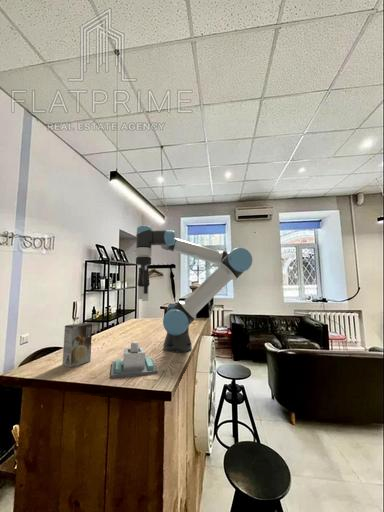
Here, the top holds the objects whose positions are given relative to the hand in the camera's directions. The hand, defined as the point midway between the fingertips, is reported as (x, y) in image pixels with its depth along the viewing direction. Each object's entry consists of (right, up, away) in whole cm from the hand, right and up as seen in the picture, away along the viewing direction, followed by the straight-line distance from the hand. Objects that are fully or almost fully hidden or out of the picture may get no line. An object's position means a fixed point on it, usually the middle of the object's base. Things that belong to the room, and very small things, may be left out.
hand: (142, 300), depth 113 cm
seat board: (+1, -24, -20) cm, 31 cm away
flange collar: (0, -23, -20) cm, 30 cm away
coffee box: (-25, -24, -14) cm, 38 cm away
